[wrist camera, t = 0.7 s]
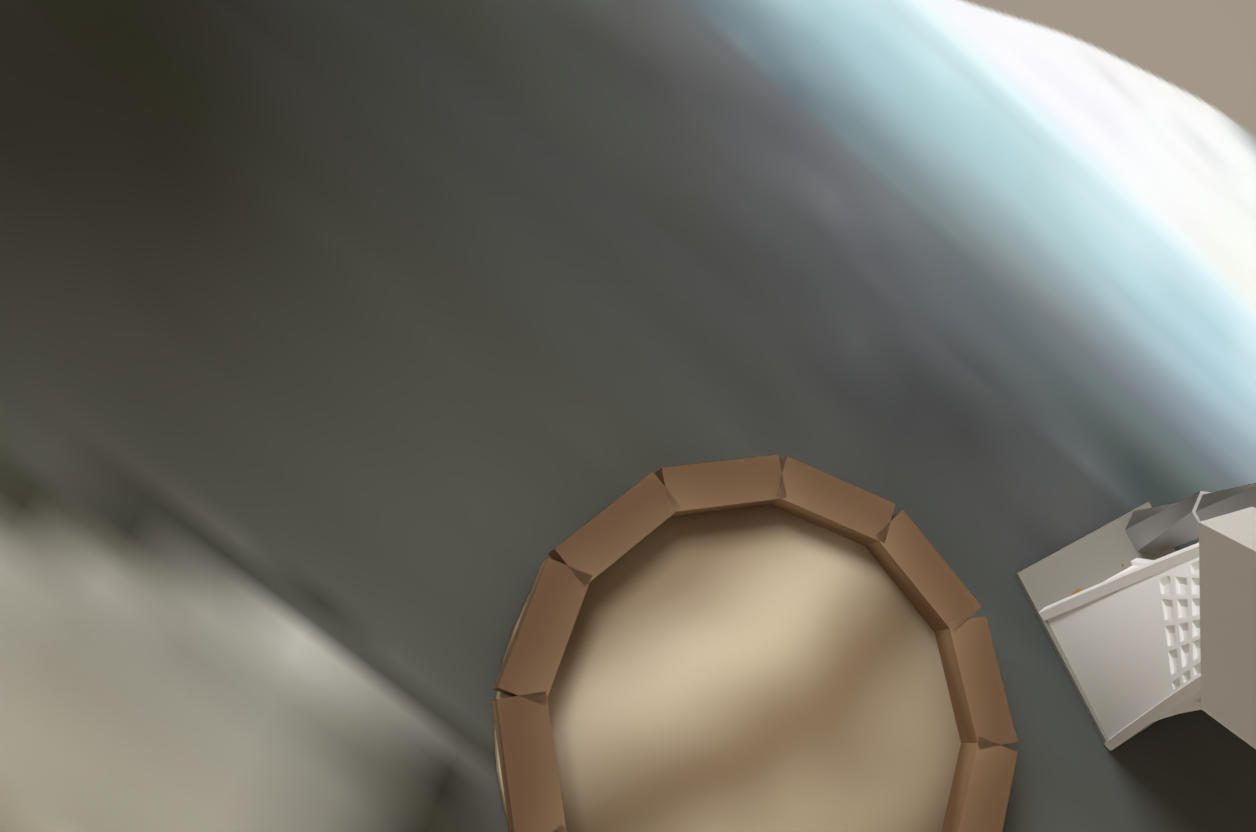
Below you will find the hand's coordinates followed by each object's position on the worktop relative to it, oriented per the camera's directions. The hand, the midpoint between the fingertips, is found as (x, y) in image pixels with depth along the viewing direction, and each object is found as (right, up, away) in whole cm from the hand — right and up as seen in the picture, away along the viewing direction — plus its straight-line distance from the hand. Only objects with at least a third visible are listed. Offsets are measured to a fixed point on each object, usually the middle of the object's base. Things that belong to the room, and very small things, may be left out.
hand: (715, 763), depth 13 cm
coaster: (+3, -6, +23) cm, 24 cm away
